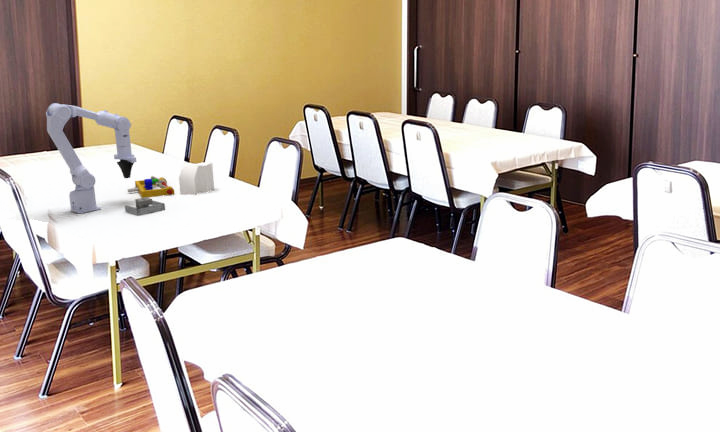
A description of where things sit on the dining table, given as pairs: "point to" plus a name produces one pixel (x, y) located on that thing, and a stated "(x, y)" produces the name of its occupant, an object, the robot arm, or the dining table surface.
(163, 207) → the bar
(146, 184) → the multicolour toy assembly
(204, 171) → the white block
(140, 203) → the dice cube
